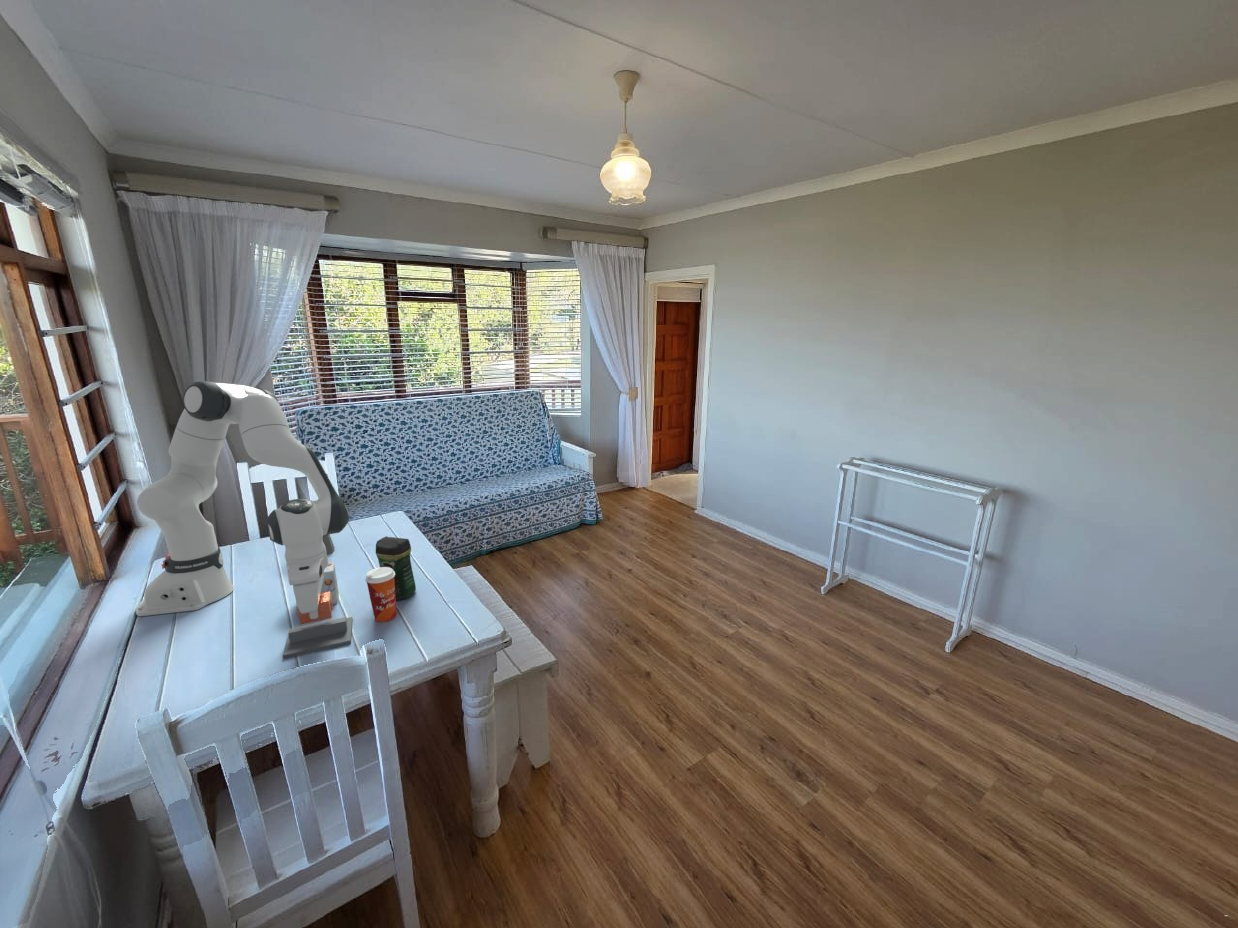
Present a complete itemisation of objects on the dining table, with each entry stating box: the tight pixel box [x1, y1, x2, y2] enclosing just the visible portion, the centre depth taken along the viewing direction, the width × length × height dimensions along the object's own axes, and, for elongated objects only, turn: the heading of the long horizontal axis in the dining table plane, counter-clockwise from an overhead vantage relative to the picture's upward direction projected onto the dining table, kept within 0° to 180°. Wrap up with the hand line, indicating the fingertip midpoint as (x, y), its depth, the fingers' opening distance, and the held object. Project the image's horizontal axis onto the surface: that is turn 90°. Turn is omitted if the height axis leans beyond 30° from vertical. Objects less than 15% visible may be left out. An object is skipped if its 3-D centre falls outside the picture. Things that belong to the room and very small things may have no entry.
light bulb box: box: [294, 561, 340, 611], centre depth 148 cm, size 11×7×11 cm, turn 118°
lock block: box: [296, 592, 334, 626], centre depth 130 cm, size 7×6×5 cm
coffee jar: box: [375, 535, 417, 601], centre depth 152 cm, size 10×8×19 cm
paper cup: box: [364, 566, 397, 623], centre depth 141 cm, size 8×8×14 cm
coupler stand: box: [282, 616, 354, 660], centre depth 132 cm, size 15×12×4 cm
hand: (316, 610), depth 130 cm, fingers closed on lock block, 5 cm apart
